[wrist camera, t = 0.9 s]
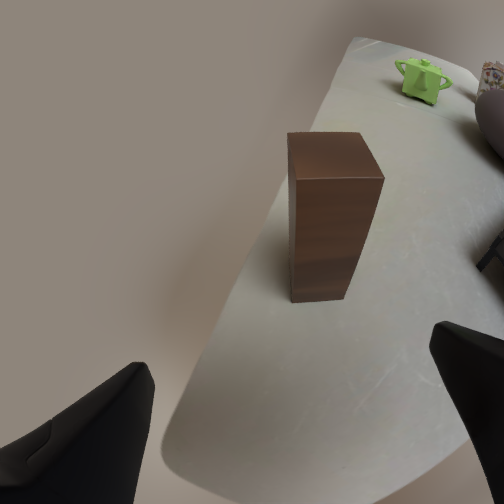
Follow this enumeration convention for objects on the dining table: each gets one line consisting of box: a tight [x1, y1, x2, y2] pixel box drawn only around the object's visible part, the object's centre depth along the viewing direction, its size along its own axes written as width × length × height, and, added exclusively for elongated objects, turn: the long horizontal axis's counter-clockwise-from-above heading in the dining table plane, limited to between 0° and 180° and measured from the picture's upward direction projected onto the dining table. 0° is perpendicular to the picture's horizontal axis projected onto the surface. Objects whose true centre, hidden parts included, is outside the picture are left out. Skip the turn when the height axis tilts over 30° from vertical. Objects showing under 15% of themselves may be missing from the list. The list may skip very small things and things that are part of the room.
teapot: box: [395, 58, 453, 105], centre depth 46 cm, size 15×13×11 cm
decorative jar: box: [475, 61, 504, 103], centre depth 43 cm, size 12×12×18 cm
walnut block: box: [287, 132, 385, 303], centre depth 19 cm, size 5×5×14 cm
